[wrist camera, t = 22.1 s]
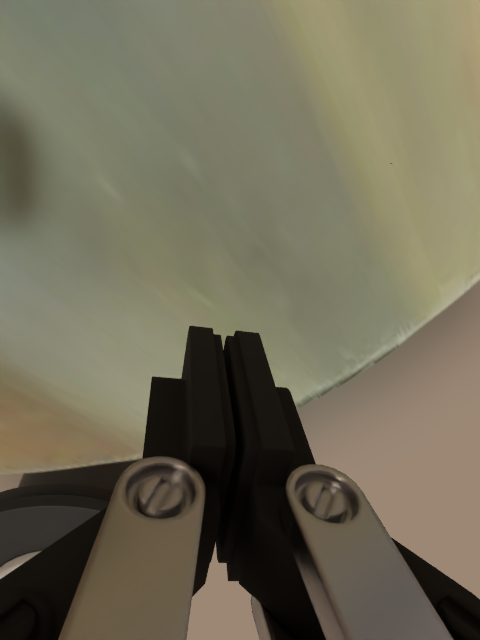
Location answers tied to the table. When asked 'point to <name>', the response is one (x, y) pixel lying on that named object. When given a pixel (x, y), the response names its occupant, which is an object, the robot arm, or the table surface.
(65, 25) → the table surface
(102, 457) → the table surface
